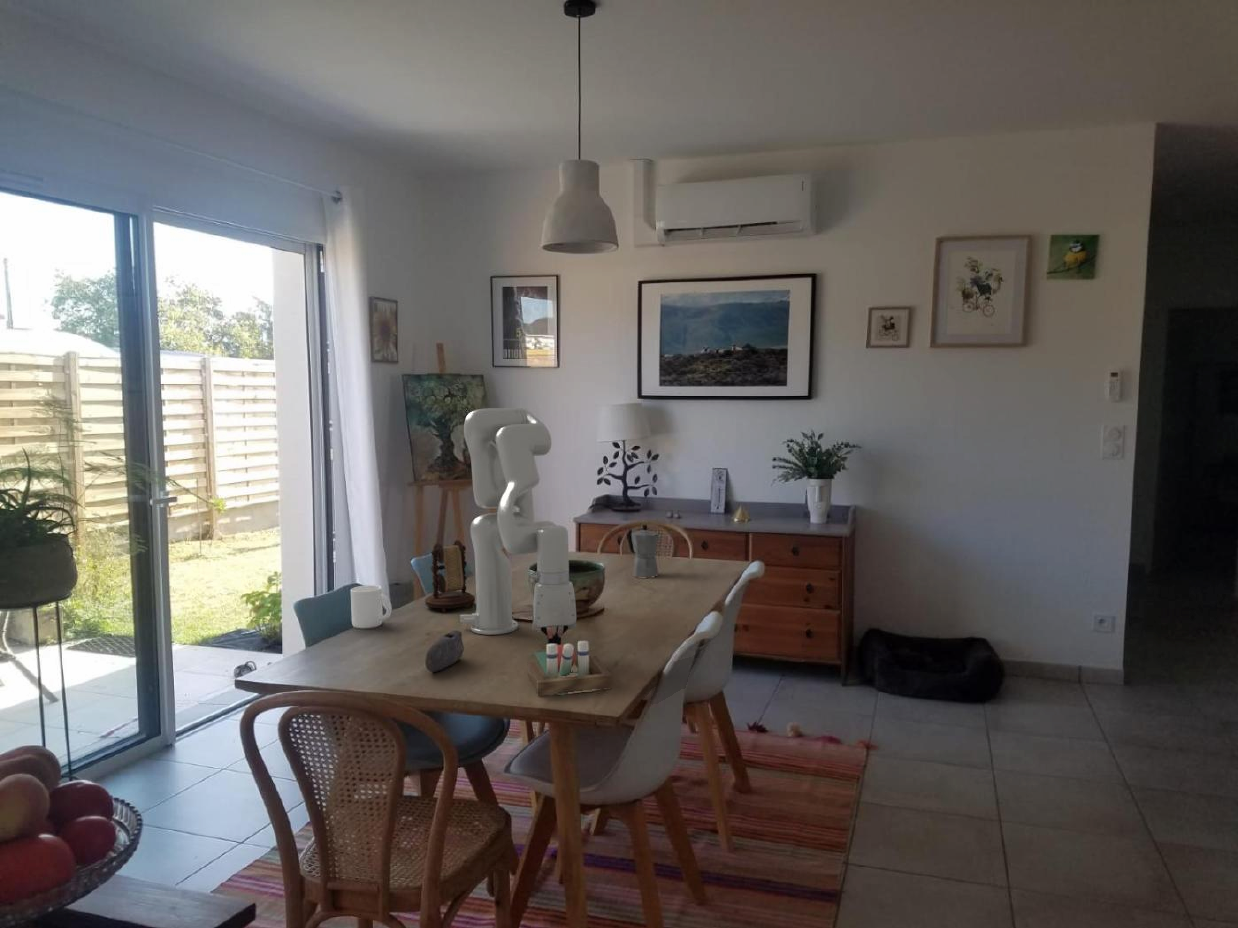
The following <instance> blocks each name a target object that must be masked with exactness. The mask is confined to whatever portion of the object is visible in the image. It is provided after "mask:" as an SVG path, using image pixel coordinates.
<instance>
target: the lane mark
mask: <svg viewBox="0 0 1238 928" xmlns="http://www.w3.org/2000/svg"><path fill="white" fill-rule="evenodd" d="M534 655H535V657H536V659H537V661H538V662H539V665H540V667H541V668H542V670H543V672H544V674H545V673H547V651H541V652H540V651H538V652H534ZM544 665H545V666H544ZM574 665H577V663H576V662H575V663H574ZM558 673H559V670H558ZM570 673H574V672H573V671H572V672H571V670H570ZM575 673H578V671H577V672H575ZM564 694H568V693H564ZM564 694H563V693H560V694H557V695H561V696H565V695H564ZM557 695H556V696H557Z"/></svg>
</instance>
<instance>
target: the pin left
mask: <svg viewBox="0 0 1238 928" xmlns="http://www.w3.org/2000/svg"><path fill="white" fill-rule="evenodd" d="M546 652H547V676H546V678H547V679H555V678H558V645H557V644H548V643H547V644H546Z"/></svg>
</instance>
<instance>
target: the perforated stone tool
mask: <svg viewBox="0 0 1238 928" xmlns="http://www.w3.org/2000/svg"><path fill="white" fill-rule="evenodd" d="M464 651H465V647H464V643H463V633H462V632H461V631H460V630H451V631H450V632H448V633H446V634H444V635H442V636H441V637H440V638H438V639H437V640H436V641H435V642H433V644H432V645H431V646H430V647H429V648H428V649H427V652H426V654H425V660H424V661H425V667H426V670H427V671H429V672H431V673H434V672H435V673H436V672H439V670H440V671H442V670H444V669H446V668H448V667H450V666H452V665H453V664H455V663H456V662H458V661H459V659H461V658H462V657H463V653H464ZM449 665H450V666H449ZM445 667H446V668H445Z"/></svg>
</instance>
